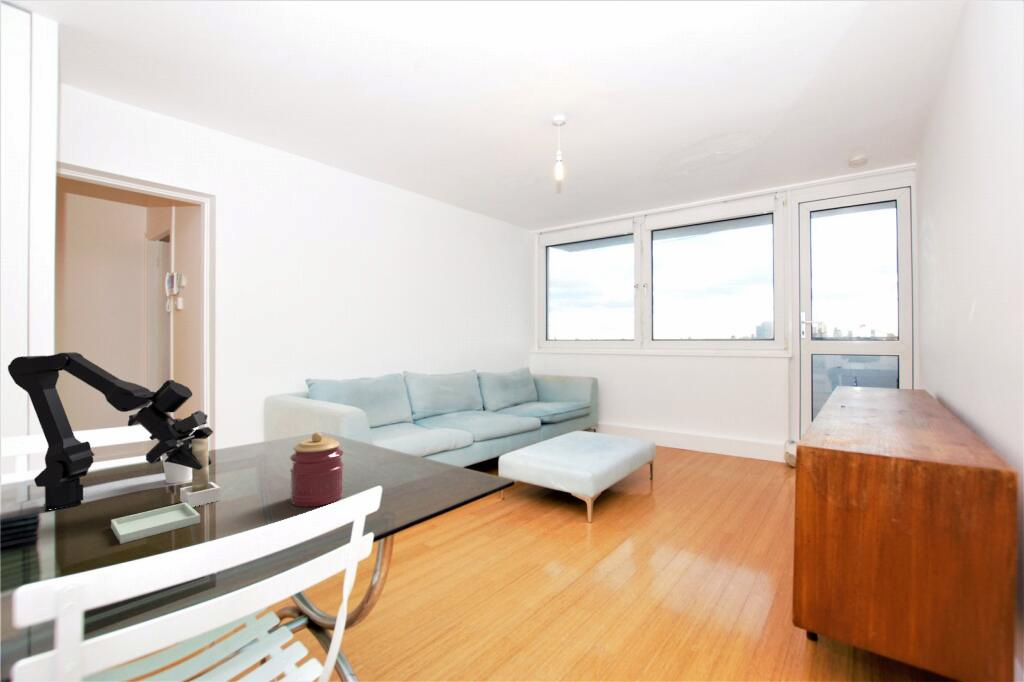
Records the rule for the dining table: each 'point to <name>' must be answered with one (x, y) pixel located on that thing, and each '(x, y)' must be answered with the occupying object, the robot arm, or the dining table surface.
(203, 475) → the dowel
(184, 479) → the foam cup
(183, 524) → the tray
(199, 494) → the collar
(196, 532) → the dining table surface
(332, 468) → the canister
